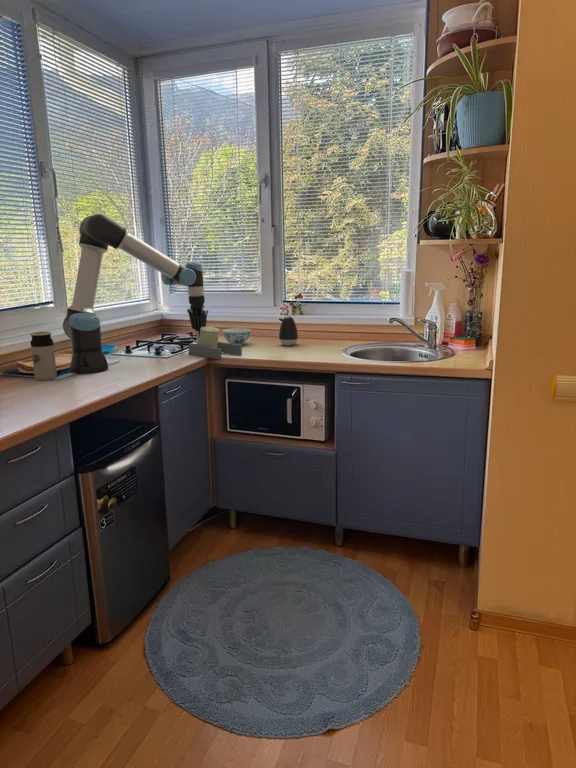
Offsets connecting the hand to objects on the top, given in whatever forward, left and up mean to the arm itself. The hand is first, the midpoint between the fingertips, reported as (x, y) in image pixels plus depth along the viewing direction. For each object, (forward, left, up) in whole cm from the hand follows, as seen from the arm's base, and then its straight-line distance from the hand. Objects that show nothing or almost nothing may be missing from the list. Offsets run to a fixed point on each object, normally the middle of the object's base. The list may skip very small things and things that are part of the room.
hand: (199, 343), depth 264 cm
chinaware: (+27, +2, -4) cm, 27 cm away
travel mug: (-76, +3, -4) cm, 76 cm away
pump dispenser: (+42, -21, -4) cm, 47 cm away
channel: (-1, -12, -4) cm, 13 cm away
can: (-1, -6, -4) cm, 7 cm away
